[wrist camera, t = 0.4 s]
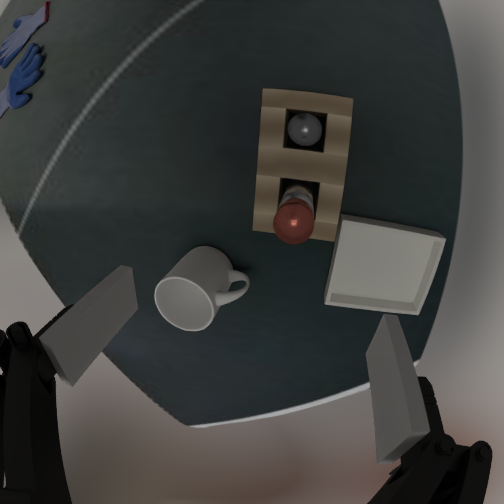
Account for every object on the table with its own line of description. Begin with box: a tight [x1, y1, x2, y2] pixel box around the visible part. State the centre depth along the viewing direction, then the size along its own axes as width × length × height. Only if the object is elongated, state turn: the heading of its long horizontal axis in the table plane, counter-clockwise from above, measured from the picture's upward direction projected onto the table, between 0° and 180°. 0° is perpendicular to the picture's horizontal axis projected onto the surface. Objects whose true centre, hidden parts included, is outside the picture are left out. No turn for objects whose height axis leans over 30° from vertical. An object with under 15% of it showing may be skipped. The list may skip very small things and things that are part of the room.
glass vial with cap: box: [273, 179, 314, 244], centre depth 29 cm, size 3×3×16 cm
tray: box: [324, 214, 446, 315], centre depth 36 cm, size 13×16×3 cm
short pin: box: [288, 113, 322, 146], centre depth 29 cm, size 3×3×9 cm
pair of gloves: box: [0, 1, 51, 118], centre depth 31 cm, size 32×26×4 cm
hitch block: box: [253, 88, 353, 242], centre depth 32 cm, size 17×10×6 cm, turn 176°
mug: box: [154, 246, 250, 331], centre depth 39 cm, size 9×12×11 cm
